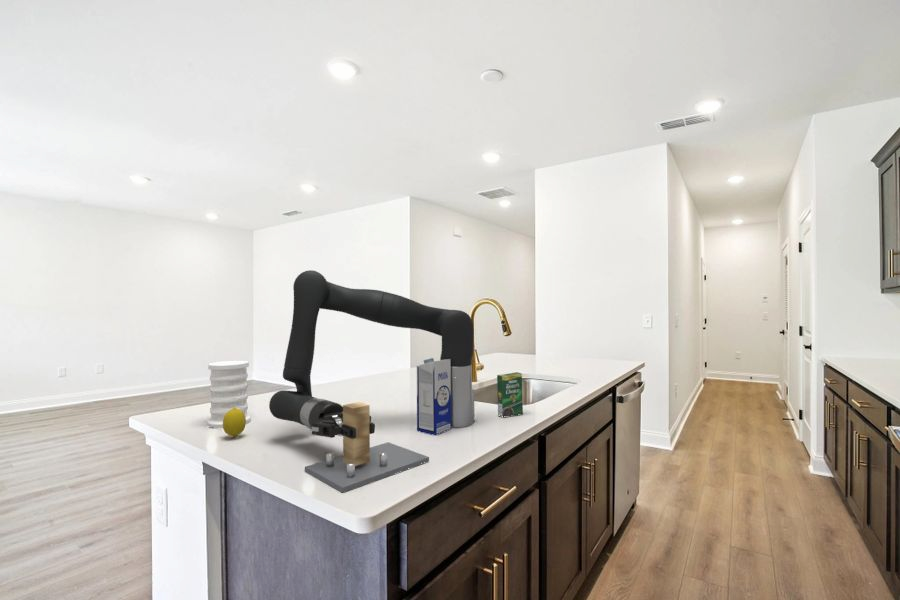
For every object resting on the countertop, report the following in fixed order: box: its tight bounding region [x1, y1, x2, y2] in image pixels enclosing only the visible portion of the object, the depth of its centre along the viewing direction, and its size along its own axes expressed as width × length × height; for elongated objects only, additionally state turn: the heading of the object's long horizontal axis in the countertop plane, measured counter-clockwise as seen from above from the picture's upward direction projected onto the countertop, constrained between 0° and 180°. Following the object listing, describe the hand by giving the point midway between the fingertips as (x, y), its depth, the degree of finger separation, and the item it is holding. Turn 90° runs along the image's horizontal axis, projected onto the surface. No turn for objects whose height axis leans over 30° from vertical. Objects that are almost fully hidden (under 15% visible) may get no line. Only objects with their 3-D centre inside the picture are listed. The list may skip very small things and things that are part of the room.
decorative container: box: [206, 360, 252, 429], centre depth 130 cm, size 12×12×18 cm
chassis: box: [304, 442, 430, 494], centre depth 95 cm, size 22×15×4 cm
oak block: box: [342, 401, 371, 466], centre depth 92 cm, size 4×4×12 cm
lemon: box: [223, 408, 247, 439], centre depth 116 cm, size 6×6×8 cm
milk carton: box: [416, 357, 452, 436], centre depth 121 cm, size 7×7×20 cm
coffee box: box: [496, 371, 524, 418], centre depth 136 cm, size 8×3×13 cm, turn 118°
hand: (363, 431), depth 91 cm, fingers closed on oak block, 4 cm apart
